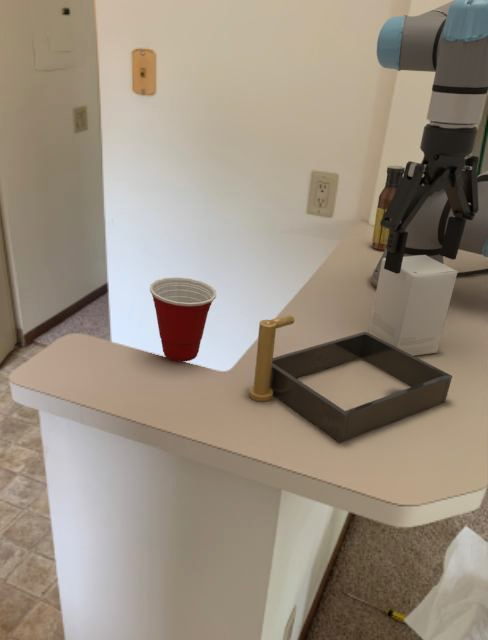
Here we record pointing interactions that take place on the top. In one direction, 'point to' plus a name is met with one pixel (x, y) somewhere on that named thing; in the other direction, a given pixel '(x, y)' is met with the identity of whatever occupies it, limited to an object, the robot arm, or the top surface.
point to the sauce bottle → (386, 205)
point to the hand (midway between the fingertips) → (420, 263)
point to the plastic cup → (181, 315)
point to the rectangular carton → (413, 304)
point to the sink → (327, 416)
